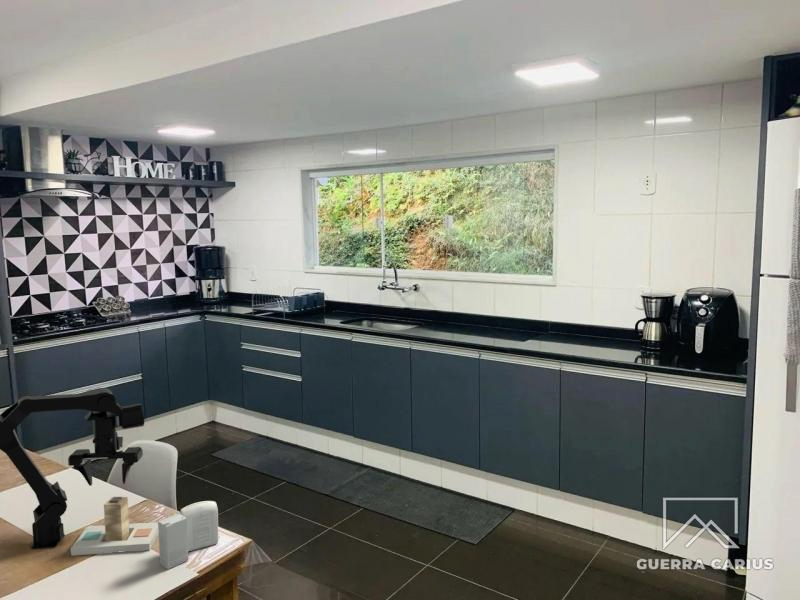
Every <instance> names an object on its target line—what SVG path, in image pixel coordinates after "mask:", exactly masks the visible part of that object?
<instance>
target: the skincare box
mask: <svg viewBox="0 0 800 600" xmlns="http://www.w3.org/2000/svg"><path fill="white" fill-rule="evenodd" d="M157 522H158V531H159V533H158V545H159V546H158V548H159V549H158V550H159V562H160V563H159V564H160V565H161V566H162V567H163V568H165V569H167V570H169V569H172V568H174V567H176V566H179V565H182V564H183V563H185V562H186V561H187V562H188V561H189V558H190V557H189V551H188V535H187V518H186V517H184V516H182V515H181V514H180V513H176V514H174V515H172V516H168V517H166V518H163V519H161V520H159V521H157Z"/></svg>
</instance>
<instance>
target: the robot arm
mask: <svg viewBox="0 0 800 600" xmlns="http://www.w3.org/2000/svg"><path fill="white" fill-rule="evenodd" d="M142 407H143V406H142V404H141V403H134V404H131V405H125V406H124V405H123V406H122V405H120V403H119V402H117V401H116V396H115V395H114V394H113V392H112V391H111V390H110V389H108V388H106V387H98V388H93V389H88V390H86V391H82V392H79V393H71V394H70V393H68V394H66V393H65V394H53V395H50V394H49V395H36V396H35V395H33V396H31V395H25V396H22V397H20V398H19V399H18V400H17V401H16V402H15V403H13V404H12V405H11V406H9V407H7V408H6V409H5V410H4V411H2V412H1V413H0V451H2V452H3V453H5V454H6V456H7V457H8V459H9V461H11V463H12V464H13V466H15V468H16V470H17V471H18V473H20V475H21V476H22V477H23V479H24V480H25V481H26V483H27V484H28V486H29V487H30V489H31V490H32V491H33V493H34V494H35V497H36V499H37V502H38V505H37V506H36V507H35V509H34V510H33V511H32V512H33V519H34V522H32V524H31V528H32V541H33V542H32V544H31V545H30V549H44V548H45V549H46V548H56V547H57V546H58V545H59V543H60V542H61V541H62V540H63V539H64V537H65V535H66V534H65V533H64V532H65V530H64V523H63V522H62V516H63V515H65V513H66V511H67V508H68V504H67V501H68V497H67V494H66V491H65V490H64V489H63V488H61V486H60V484H59V482H58V481H56V482H54V483H51V482H49V481H48V479H47V478H46V477H45V476H44V474H43V473H42V471H41V470H40V469H39V467H38V465H36V463H35V462H34V461H33V459H32V457H31V456H30V455H29V453H28V452H27V450H26V449H25V448H24V447H23V445H22V443H21V442H20V440H19V436H18V434H17V432H16V430H15V429H17V428H18V427H19V426H20V425H21V423H22V422H24V421H25V419H26V418H27V417H28V416H29V415H31V413H42V412H43V413H44V412H55V411H57V412H58V411H59V412H60V411H71V410H82V411H88V413H87V414H86V415H85V416H84V418H85V420H86V421H87V422H91V421H92V424H93V439H92V443H93V445H94V446H93V447H94V452H91V450H90V449H88V448H86V449H85V448H82V449H80V448H79V449H75V450H74V451H73V452H72V453H71V454H70V455H69V456H68V459H67V463H68V464H67V465H68V466H69V467H73V469H77V471H79V473H80V474H81V475H82V476H83V478H84V480H85V481H86V482H87V485H88V486H90V487H91V486H92V485H93V474H92V466H91V464H92V460H93V461H97V460H114V459H115V460H117V459H119V460H120V459H122V462H123V463H122V464H121V475H122V480H121V481H122V484H123V485H126V482H127V479H128V476H129V473H130V469H131V467H132V466H134V465H135V464H136V463H138V462H139V461H140V459H142V457H143V455H144V453H143V451H144V450H143V448H142V447H141V446H132V447H131V446H129V447H127V448H126V449H125V451H120V450H121V448H123V442H124V436H118V432H117V431H116V430H117V428H116V424H117V427H118V428H120V427H121V429H122V430H123V431H124V430H128V429H135V428H141V427H144V426H145V416H144V412H143V408H142Z"/></svg>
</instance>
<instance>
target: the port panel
mask: <svg viewBox="0 0 800 600" xmlns="http://www.w3.org/2000/svg"><path fill="white" fill-rule="evenodd" d="M158 536H159V531H158V521H157V522H145V523H144V522H142V523H141V522H140V523H138V522H137V523H129V538H128V539H127V540H126V541H109V542H106V535H105V524H103V525H89V526H88V525H87V527H86V528H85V529H84V531H83V532H82V533H81V534H80V536H79V537H78V538H77V540H76V541H75V542H74V543H73V545H72V546H71V547H70V556H85V555H87V556H88V555H101V553H104V554H111V553H110V552H119V551H135V552H141V551H140V550H151V548H152V546H153V545H154V542H155V541H156V539H157V537H158ZM119 553H120V552H119Z"/></svg>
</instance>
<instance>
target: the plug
mask: <svg viewBox="0 0 800 600" xmlns="http://www.w3.org/2000/svg"><path fill="white" fill-rule="evenodd" d="M128 502H129V501H128V496H111V497H109V499H108V500H107V501H105V503H104V504H103V510H104V512H103V514H104V525H105V535H106V541H105V542H109V541H126V540H127V539H128V538H129V536H130V535H129V524H130V522H129V521H130V520H129V518H130V517H129V503H128Z"/></svg>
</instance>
